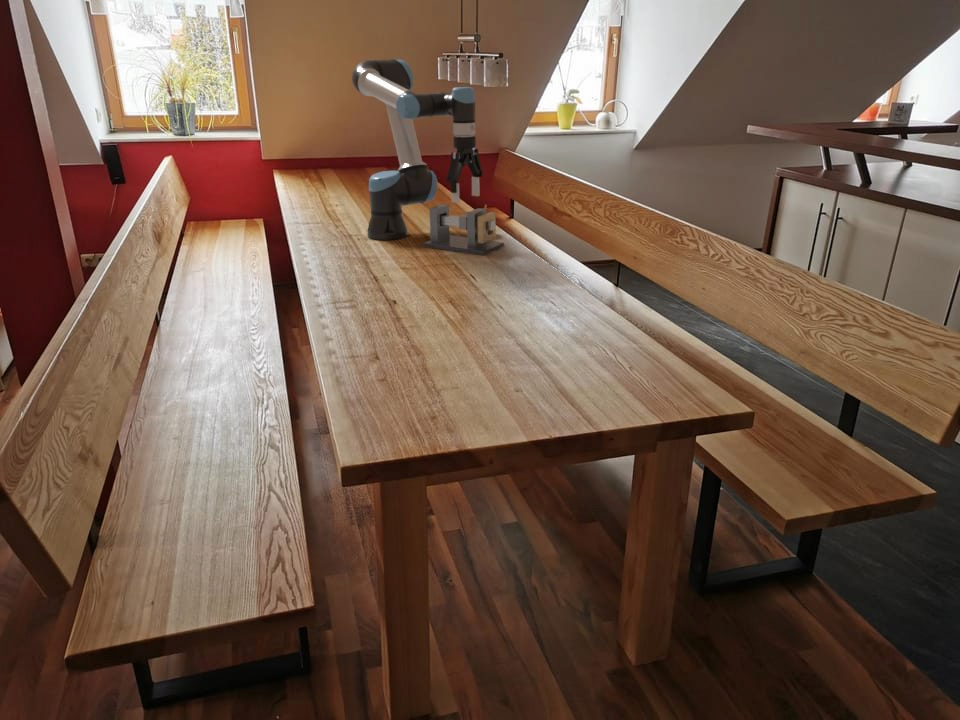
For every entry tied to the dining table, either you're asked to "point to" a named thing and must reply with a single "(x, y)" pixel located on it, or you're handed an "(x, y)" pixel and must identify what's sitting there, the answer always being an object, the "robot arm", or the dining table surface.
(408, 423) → the dining table surface
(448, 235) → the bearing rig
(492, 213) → the block
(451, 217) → the shaft
